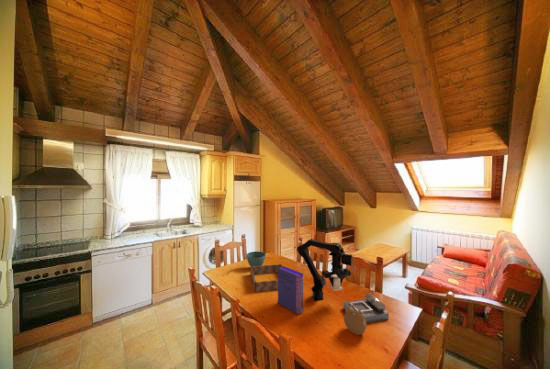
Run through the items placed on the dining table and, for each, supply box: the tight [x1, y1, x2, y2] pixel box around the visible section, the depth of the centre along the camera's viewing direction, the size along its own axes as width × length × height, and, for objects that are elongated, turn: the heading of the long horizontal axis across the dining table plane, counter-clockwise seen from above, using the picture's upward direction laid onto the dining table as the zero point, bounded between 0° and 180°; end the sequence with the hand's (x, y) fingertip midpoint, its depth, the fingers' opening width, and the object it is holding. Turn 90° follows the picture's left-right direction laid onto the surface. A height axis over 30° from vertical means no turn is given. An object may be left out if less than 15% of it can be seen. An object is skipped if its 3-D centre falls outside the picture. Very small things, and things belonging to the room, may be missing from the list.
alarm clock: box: [343, 305, 368, 336], centre depth 110 cm, size 11×5×15 cm, turn 47°
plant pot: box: [246, 250, 267, 267], centre depth 197 cm, size 18×18×12 cm
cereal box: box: [277, 265, 304, 315], centre depth 134 cm, size 17×5×24 cm, turn 45°
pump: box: [329, 275, 344, 292], centre depth 138 cm, size 6×8×7 cm
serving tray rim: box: [249, 263, 283, 293], centre depth 169 cm, size 28×30×7 cm
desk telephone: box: [342, 292, 390, 324], centre depth 127 cm, size 20×16×9 cm
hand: (336, 285), depth 137 cm, fingers closed on pump, 5 cm apart
